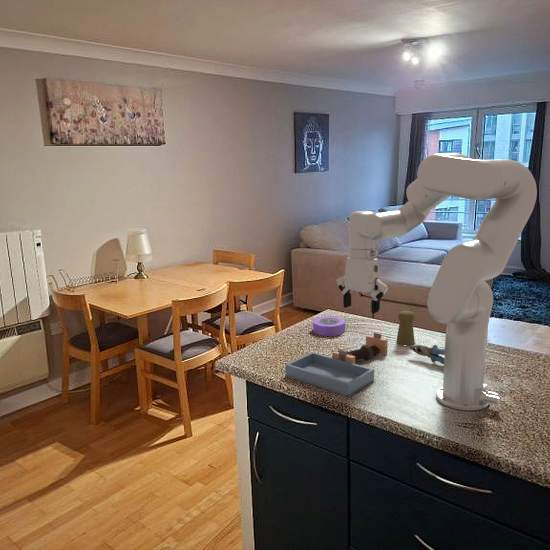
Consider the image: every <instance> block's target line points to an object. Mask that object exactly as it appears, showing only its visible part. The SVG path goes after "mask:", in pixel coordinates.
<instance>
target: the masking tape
mask: <svg viewBox="0 0 550 550" xmlns="http://www.w3.org/2000/svg"><path fill="white" fill-rule="evenodd" d="M312 332H313V333H314V334H316V335H319V336H327V337H330V336H331V337H333V336H340V335H342V334H344V333H345V332H346V320H345V319H343V318H342V317H338V316H320V317H316V318H314V319H313V321H312Z"/></svg>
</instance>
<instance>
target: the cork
mask: <svg viewBox="0 0 550 550" xmlns="http://www.w3.org/2000/svg"><path fill="white" fill-rule="evenodd" d="M397 317H398V320H399V322H398V323H399V324H398V330H397V337H396V341H395V343H396V342H397V343H398V344H397V343H396V344H397V345H399V344H400V345H399V346H402V345H406V346H405V347H410V346H411V345H416V342H415V333H414V323H413V321H414V320H415V313H414V312H413V311H411V310H401V311H400V312H399V313H398V316H397Z"/></svg>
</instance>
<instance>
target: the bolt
mask: <svg viewBox="0 0 550 550" xmlns="http://www.w3.org/2000/svg"><path fill="white" fill-rule="evenodd" d="M341 350H344V349H342V348H341ZM346 351H347V350H346ZM337 352H339V349H338V350H337ZM379 352H380V349H379V348H378V347H377V346H375V345H374V346H369V345H366V344H362V346H361V347H360V348H358V349H355V350H351V351H347V354H348V355H352V356H355V362H357V361H361V360H364V361H370V360H372V359H373V358H374V357H376V356H378V355H380V354H379Z"/></svg>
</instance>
